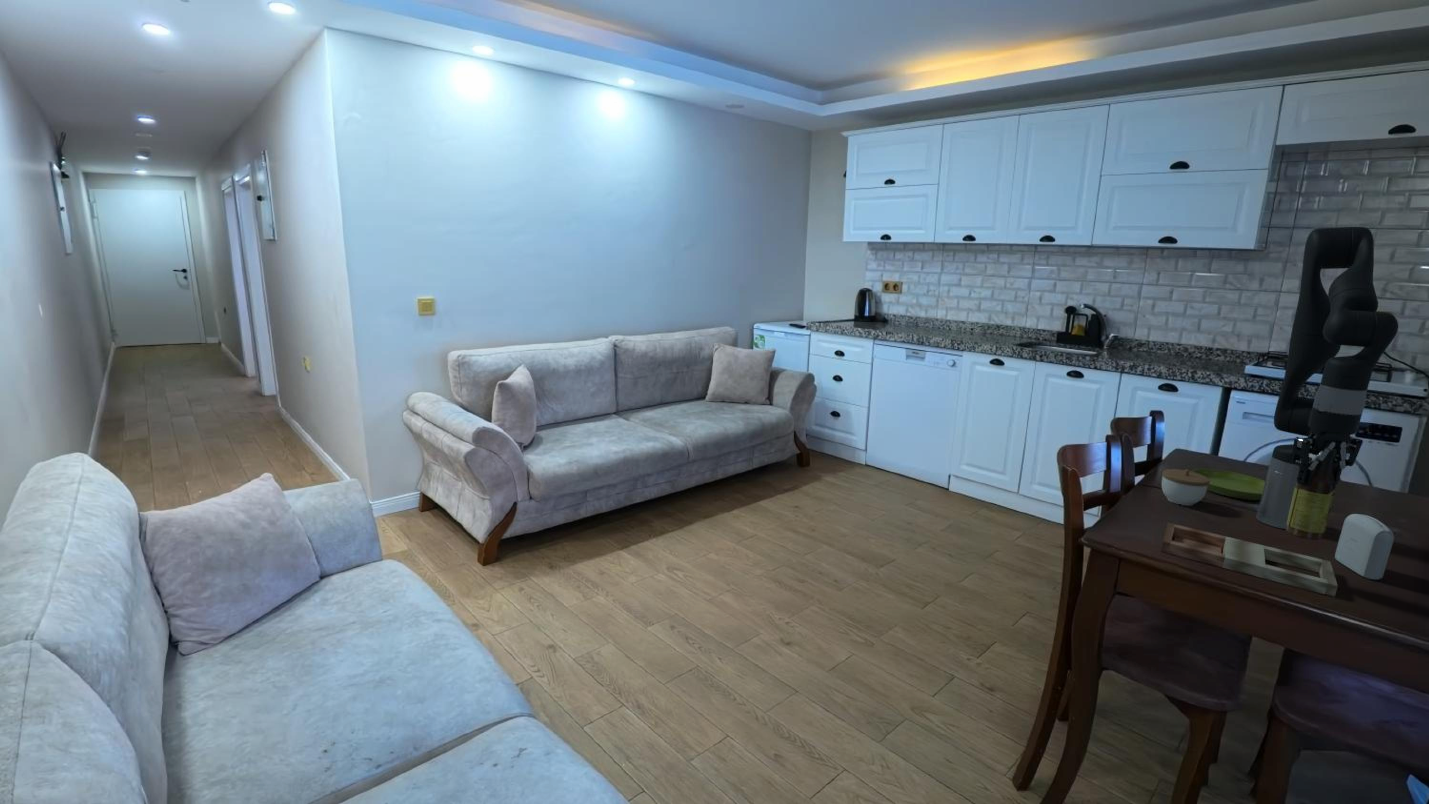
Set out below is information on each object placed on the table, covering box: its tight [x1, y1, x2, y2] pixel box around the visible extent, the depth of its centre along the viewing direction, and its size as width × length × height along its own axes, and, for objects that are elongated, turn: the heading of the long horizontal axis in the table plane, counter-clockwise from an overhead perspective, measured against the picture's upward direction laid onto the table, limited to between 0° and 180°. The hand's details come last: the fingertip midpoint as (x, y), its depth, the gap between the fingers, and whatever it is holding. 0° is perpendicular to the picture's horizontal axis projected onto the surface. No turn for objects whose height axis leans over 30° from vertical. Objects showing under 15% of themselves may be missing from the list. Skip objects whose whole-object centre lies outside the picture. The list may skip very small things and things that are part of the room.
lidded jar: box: [1161, 468, 1210, 507], centre depth 182 cm, size 11×11×9 cm
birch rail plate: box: [1160, 522, 1339, 598], centre depth 148 cm, size 30×14×2 cm, turn 52°
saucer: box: [1190, 468, 1266, 501], centre depth 193 cm, size 21×21×3 cm
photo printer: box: [1334, 513, 1395, 581], centre depth 145 cm, size 10×4×12 cm, turn 168°
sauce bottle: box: [1285, 449, 1337, 541], centre depth 139 cm, size 6×6×20 cm
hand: (1316, 484), depth 138 cm, fingers closed on sauce bottle, 6 cm apart
